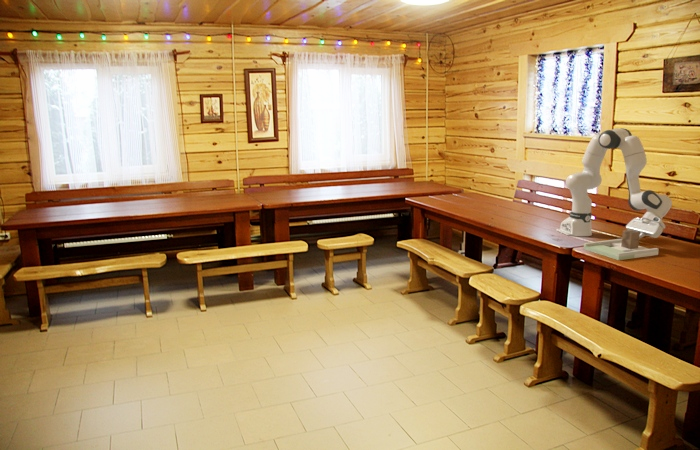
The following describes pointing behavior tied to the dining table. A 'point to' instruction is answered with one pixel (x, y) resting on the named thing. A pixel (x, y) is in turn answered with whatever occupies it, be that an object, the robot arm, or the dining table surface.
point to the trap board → (618, 250)
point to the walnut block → (630, 239)
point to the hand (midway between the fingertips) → (635, 239)
